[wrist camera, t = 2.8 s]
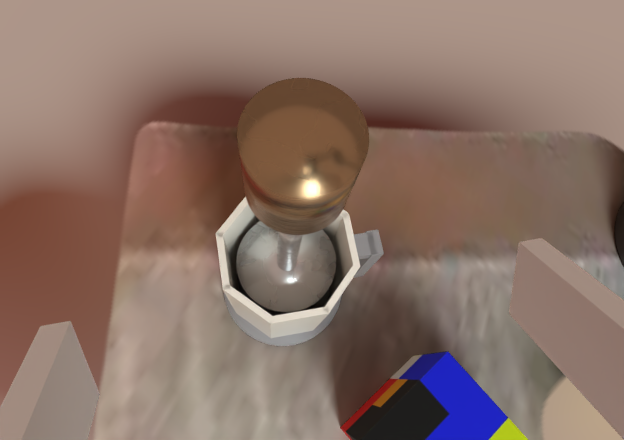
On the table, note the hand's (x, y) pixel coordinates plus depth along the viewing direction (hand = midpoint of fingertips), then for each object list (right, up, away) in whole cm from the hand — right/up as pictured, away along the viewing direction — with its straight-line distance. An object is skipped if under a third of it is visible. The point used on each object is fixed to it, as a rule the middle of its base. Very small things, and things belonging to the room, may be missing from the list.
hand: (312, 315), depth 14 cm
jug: (-3, -4, +35) cm, 35 cm away
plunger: (-2, -1, +25) cm, 25 cm away
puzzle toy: (+10, -18, +32) cm, 38 cm away
